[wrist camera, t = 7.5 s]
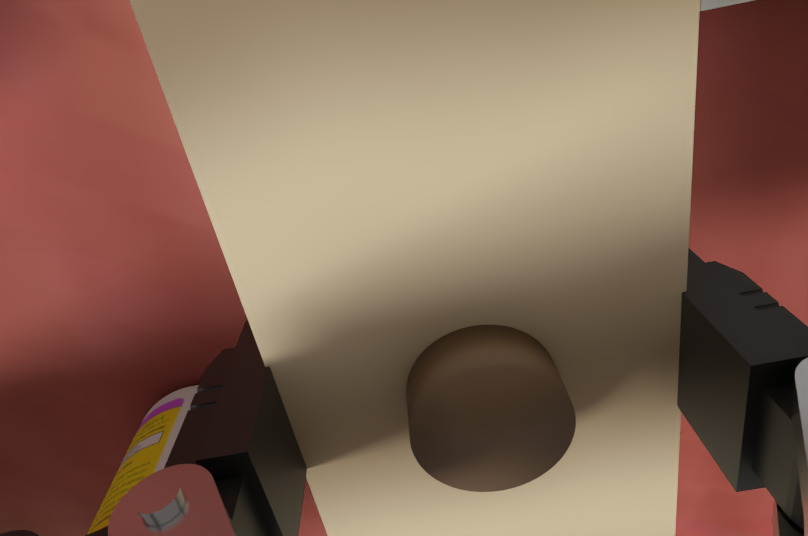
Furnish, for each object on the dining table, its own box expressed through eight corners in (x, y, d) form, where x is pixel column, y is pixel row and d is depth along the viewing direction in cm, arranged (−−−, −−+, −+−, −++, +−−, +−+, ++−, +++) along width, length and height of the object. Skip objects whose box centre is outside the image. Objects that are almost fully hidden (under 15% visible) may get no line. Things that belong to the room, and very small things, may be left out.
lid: (196, -24, 9) (82, -15, 6) (606, -111, 9) (762, -161, 5) (371, 529, 15) (369, 703, 12) (618, 488, 15) (695, 654, 11)
